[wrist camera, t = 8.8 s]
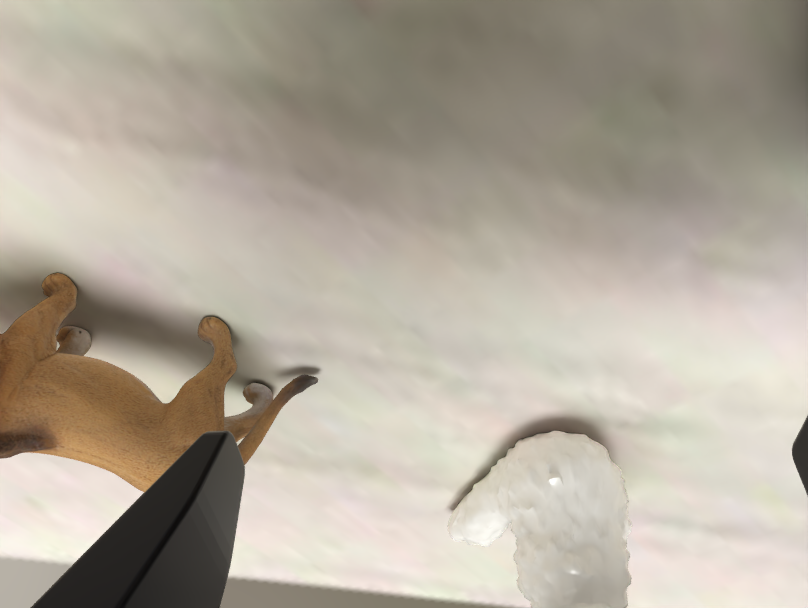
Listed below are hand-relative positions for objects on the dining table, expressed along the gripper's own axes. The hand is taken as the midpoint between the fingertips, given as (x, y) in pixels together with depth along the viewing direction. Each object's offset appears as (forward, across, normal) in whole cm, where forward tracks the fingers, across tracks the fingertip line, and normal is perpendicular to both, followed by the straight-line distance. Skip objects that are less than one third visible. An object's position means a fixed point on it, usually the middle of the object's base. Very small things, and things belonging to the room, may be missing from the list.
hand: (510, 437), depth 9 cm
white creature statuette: (+12, -4, +17) cm, 21 cm away
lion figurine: (+12, +14, +7) cm, 20 cm away
